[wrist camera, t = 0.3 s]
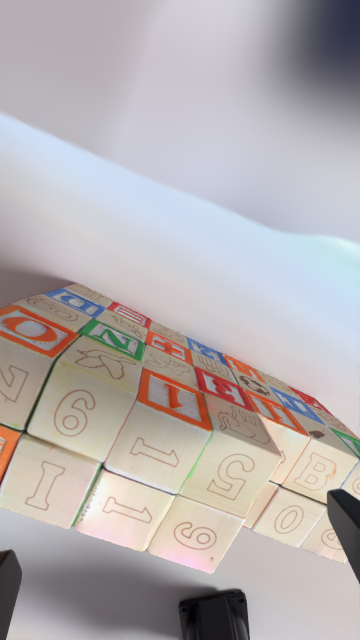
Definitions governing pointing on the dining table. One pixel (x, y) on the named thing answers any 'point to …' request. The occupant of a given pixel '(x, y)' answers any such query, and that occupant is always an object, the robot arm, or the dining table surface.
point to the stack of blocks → (159, 436)
